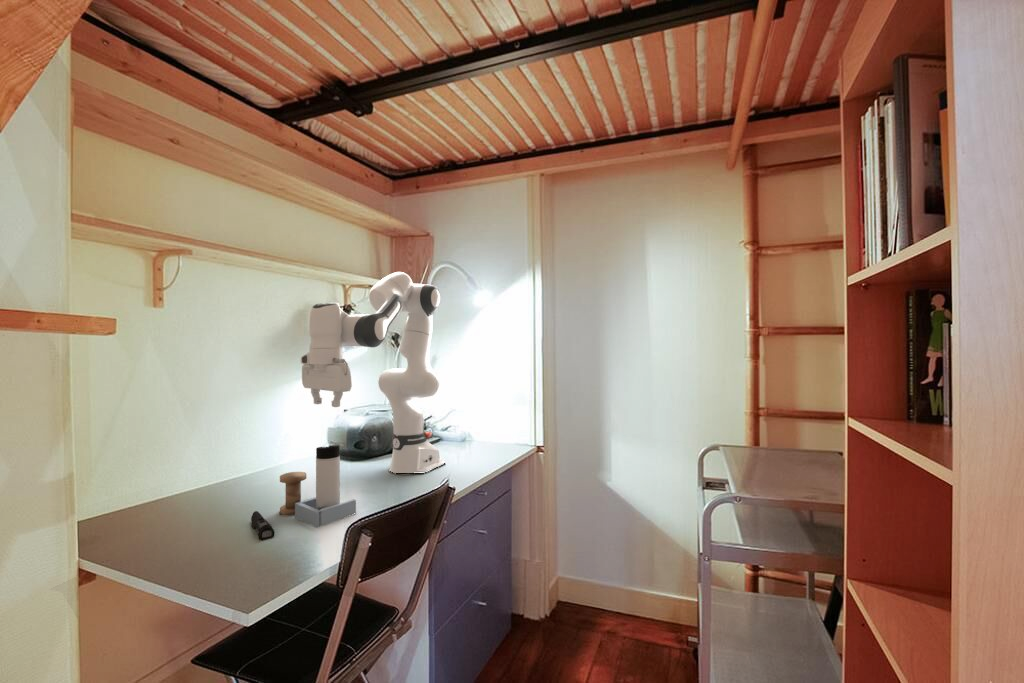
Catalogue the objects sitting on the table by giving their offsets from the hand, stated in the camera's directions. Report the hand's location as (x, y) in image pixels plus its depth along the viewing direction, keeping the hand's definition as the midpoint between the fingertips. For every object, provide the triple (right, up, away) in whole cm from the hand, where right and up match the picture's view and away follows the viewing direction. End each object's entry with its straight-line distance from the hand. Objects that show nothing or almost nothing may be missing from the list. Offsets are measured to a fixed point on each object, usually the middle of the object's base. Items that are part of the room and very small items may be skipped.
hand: (326, 405), depth 130 cm
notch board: (+1, -31, -3) cm, 31 cm away
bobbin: (-10, -31, 0) cm, 32 cm away
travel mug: (+2, -31, -3) cm, 31 cm away
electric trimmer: (-12, -31, -13) cm, 36 cm away
